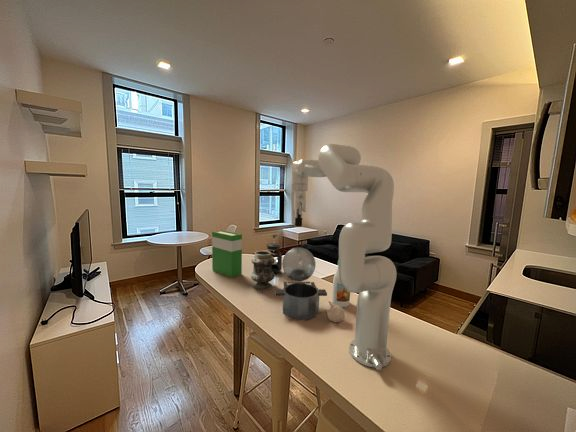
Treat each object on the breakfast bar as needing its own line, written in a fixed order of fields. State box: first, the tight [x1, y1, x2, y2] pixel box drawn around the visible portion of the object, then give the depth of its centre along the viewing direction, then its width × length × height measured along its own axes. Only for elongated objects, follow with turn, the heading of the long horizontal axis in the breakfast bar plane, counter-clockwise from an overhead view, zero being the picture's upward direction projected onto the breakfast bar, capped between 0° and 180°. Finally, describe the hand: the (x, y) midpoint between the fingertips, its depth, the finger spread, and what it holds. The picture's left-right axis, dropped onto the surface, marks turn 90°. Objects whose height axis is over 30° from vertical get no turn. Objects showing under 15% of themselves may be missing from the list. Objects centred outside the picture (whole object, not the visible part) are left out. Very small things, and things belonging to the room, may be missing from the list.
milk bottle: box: [331, 259, 351, 308], centre depth 108 cm, size 8×8×20 cm
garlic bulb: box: [326, 301, 346, 323], centre depth 95 cm, size 7×6×8 cm
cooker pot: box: [275, 281, 328, 321], centre depth 102 cm, size 16×21×9 cm
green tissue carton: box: [211, 229, 243, 278], centre depth 143 cm, size 18×7×24 cm, turn 53°
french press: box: [266, 234, 283, 276], centre depth 146 cm, size 12×9×23 cm
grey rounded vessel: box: [250, 250, 275, 291], centre depth 125 cm, size 12×12×18 cm
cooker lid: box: [282, 246, 316, 284], centre depth 111 cm, size 16×15×3 cm
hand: (298, 225), depth 117 cm, fingers closed
